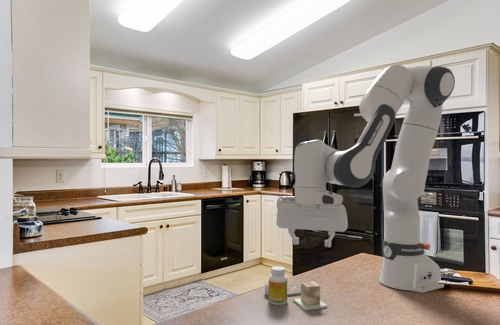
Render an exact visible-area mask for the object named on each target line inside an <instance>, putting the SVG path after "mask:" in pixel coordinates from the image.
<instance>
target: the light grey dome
mask: <svg viewBox="0 0 500 325" xmlns="http://www.w3.org/2000/svg"><path fill="white" fill-rule="evenodd" d="M264 295H265V297H266V296H267V297H268V298H269V281H268V282H266V283H265V284H264Z"/></svg>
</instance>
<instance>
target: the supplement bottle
mask: <svg viewBox="0 0 500 325" xmlns="http://www.w3.org/2000/svg"><path fill="white" fill-rule="evenodd" d="M270 273H271V274H269V276H268V282H269V297H268V302H269V303H270V304H272V305H275V306H281V305H286V304H287V302H288V296H287V286H288V276H287V275H286V269H285V267H284V266H279V265H275V266H272V267H271V268H270Z"/></svg>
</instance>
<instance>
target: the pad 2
mask: <svg viewBox="0 0 500 325" xmlns="http://www.w3.org/2000/svg"><path fill="white" fill-rule="evenodd" d="M293 302H294V303H295V304H296V305H297V306H299V307H300V308H301V309H302V310H303V311H311V310H319V309H326V308H327V309H328V304H326V303H325V302H324V301H322V300H321V299H320V304H314V305H306V304H305V303H304V302H303V301H302V300H301V297H299V298H293Z"/></svg>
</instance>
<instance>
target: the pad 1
mask: <svg viewBox="0 0 500 325" xmlns="http://www.w3.org/2000/svg"><path fill="white" fill-rule="evenodd" d="M293 296H301V284H291V285H289V284H287V297H293Z"/></svg>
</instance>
